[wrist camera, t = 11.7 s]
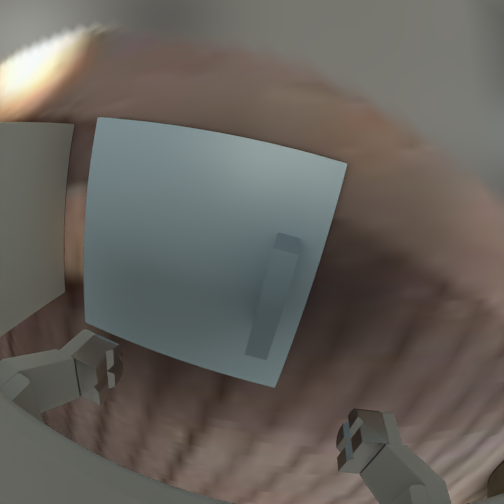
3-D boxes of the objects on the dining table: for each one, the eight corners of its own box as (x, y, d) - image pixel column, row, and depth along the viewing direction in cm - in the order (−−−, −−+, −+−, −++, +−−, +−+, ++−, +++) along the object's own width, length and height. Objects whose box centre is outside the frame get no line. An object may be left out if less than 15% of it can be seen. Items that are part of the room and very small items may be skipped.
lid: (277, 370, 21) (270, 418, 17) (98, 311, 23) (63, 341, 18) (342, 163, 17) (358, 164, 12) (114, 119, 18) (67, 113, 13)
